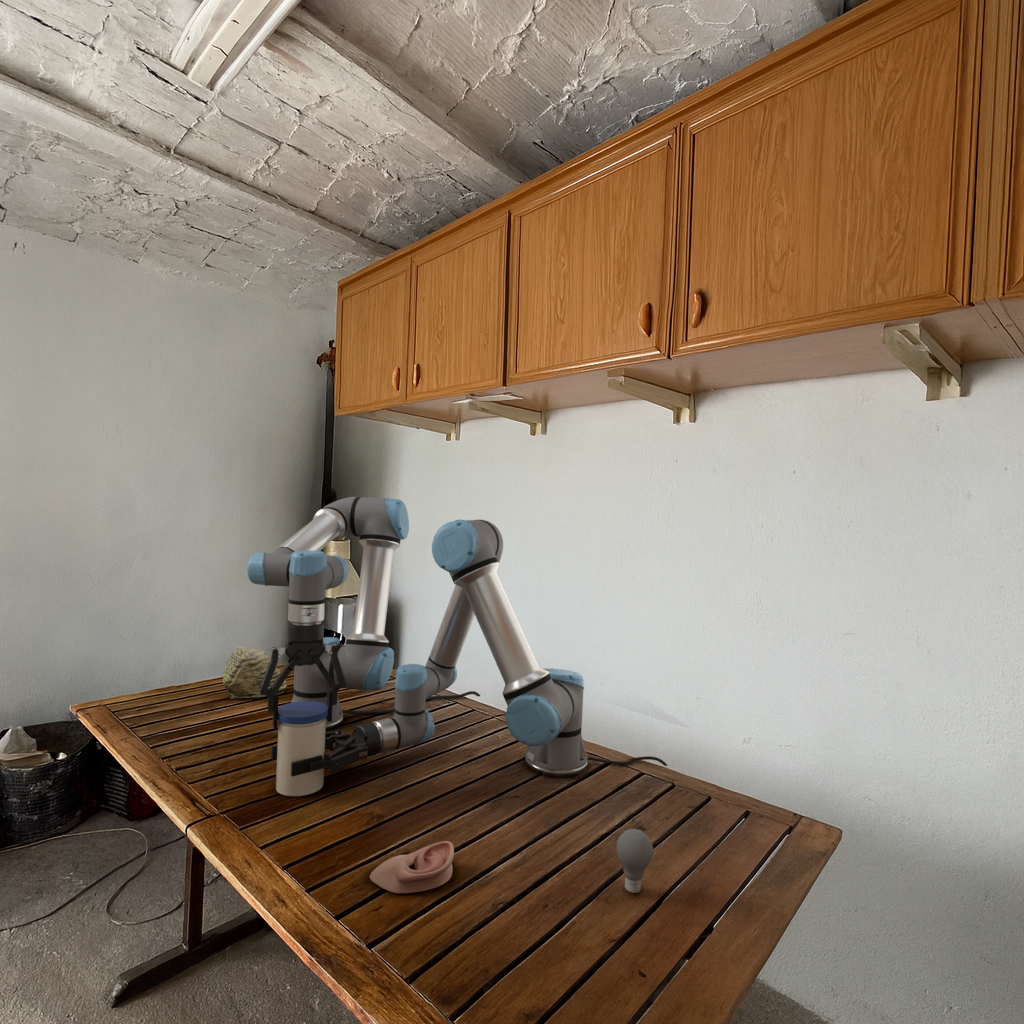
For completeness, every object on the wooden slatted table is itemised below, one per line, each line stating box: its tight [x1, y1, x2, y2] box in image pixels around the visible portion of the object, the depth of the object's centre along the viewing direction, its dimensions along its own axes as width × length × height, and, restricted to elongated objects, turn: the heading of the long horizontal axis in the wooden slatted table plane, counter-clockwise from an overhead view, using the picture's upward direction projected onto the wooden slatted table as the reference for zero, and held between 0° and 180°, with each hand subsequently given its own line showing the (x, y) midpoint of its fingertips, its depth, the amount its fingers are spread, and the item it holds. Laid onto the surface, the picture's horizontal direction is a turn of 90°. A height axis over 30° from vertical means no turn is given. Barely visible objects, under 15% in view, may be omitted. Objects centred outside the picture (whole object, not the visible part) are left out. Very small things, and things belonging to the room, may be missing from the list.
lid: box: [278, 701, 328, 724], centre depth 138 cm, size 11×11×2 cm
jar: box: [275, 718, 327, 797], centre depth 138 cm, size 10×10×16 cm
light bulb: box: [615, 828, 654, 894], centre depth 106 cm, size 6×6×10 cm
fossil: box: [222, 646, 288, 699], centre depth 198 cm, size 9×18×15 cm, turn 132°
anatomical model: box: [369, 840, 455, 894], centre depth 107 cm, size 13×4×12 cm
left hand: (302, 722), depth 138 cm, fingers closed on lid, 11 cm apart
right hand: (281, 760), depth 135 cm, fingers closed on jar, 10 cm apart
